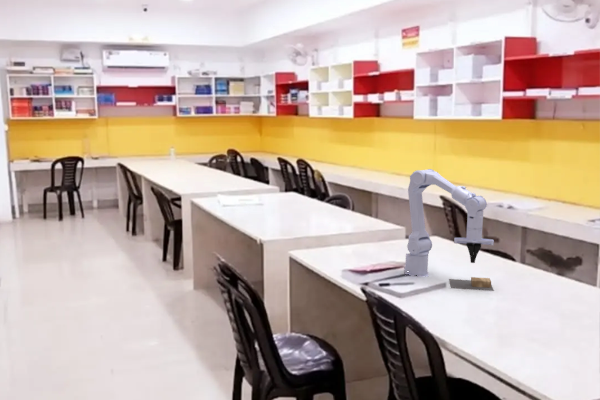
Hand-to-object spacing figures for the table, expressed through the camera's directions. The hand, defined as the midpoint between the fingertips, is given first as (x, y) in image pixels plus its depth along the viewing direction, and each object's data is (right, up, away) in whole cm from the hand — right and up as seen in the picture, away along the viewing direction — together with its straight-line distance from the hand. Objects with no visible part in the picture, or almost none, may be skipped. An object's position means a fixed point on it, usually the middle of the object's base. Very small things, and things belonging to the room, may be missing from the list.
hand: (472, 262), depth 235 cm
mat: (0, -10, +3) cm, 10 cm away
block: (+1, -8, +3) cm, 9 cm away
